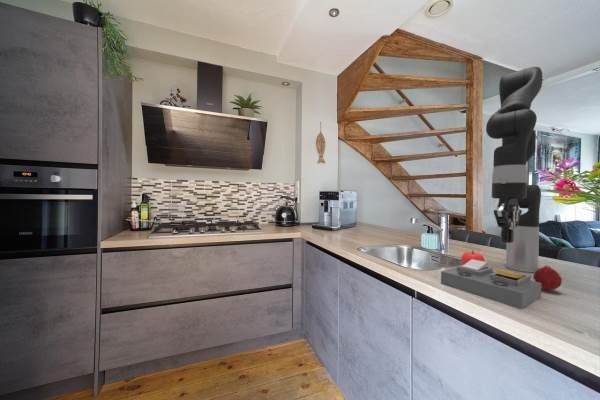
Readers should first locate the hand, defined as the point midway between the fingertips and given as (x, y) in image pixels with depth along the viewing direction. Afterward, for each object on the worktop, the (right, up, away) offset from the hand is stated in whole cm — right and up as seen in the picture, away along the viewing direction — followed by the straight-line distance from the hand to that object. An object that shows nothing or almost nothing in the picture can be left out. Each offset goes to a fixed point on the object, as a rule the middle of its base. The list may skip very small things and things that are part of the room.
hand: (507, 242), depth 67 cm
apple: (+6, -15, +22) cm, 27 cm away
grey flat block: (-2, -15, +4) cm, 16 cm away
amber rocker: (+2, -10, +1) cm, 10 cm away
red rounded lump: (+15, -16, +4) cm, 22 cm away
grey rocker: (-2, -10, +9) cm, 13 cm away
